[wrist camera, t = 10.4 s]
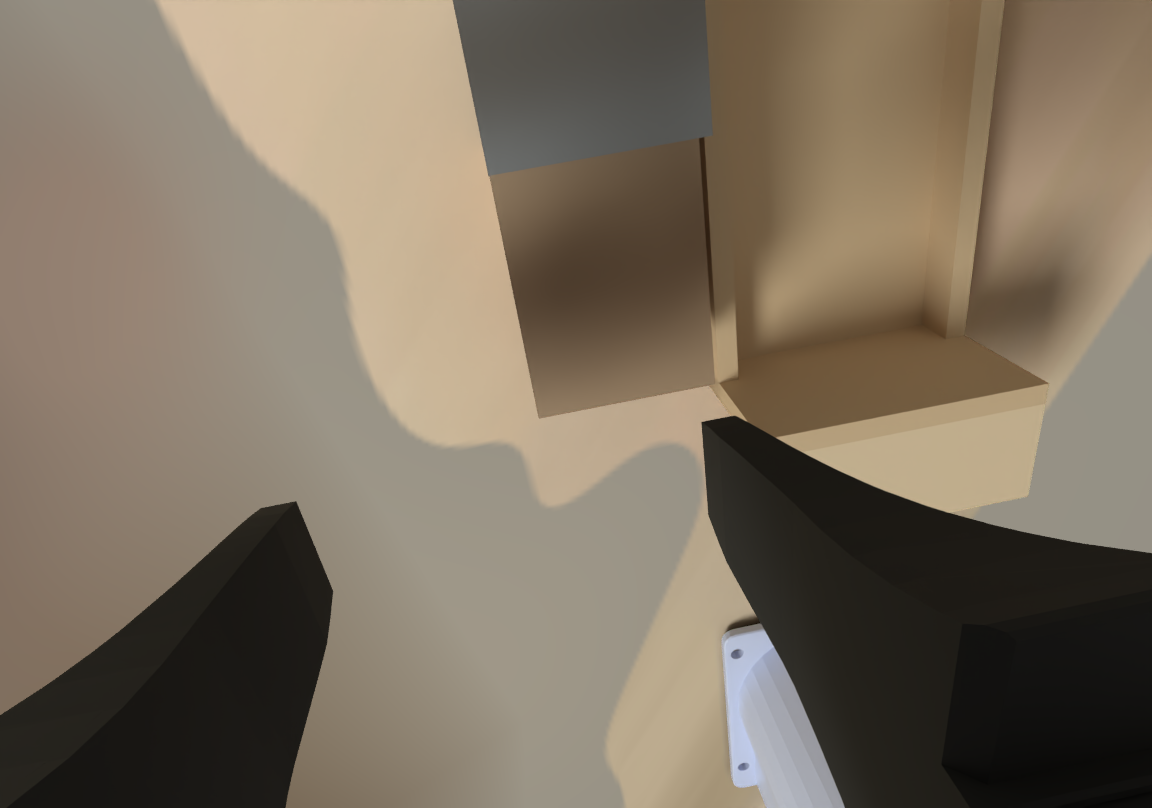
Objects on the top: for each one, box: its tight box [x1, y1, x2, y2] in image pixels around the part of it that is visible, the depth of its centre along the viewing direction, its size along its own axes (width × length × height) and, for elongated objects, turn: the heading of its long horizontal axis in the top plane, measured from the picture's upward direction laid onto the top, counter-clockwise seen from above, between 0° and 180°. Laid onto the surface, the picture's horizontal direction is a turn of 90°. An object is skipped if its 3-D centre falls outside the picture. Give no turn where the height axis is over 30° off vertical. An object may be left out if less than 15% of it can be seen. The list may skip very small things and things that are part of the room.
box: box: [453, 0, 715, 418], centre depth 16 cm, size 10×4×6 cm, turn 9°
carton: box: [699, 0, 1049, 513], centre depth 17 cm, size 20×8×5 cm, turn 8°
